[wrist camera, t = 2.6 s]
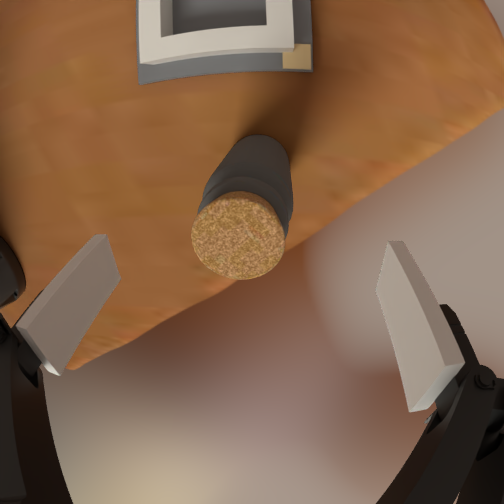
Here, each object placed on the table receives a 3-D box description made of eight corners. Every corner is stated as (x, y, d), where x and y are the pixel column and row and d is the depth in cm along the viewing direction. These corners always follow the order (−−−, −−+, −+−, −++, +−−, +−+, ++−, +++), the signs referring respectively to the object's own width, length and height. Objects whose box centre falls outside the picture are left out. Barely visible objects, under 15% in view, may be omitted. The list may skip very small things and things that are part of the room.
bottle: (217, 151, 26) (158, 219, 14) (271, 123, 24) (261, 164, 12) (247, 200, 29) (219, 301, 16) (299, 176, 27) (315, 265, 14)
